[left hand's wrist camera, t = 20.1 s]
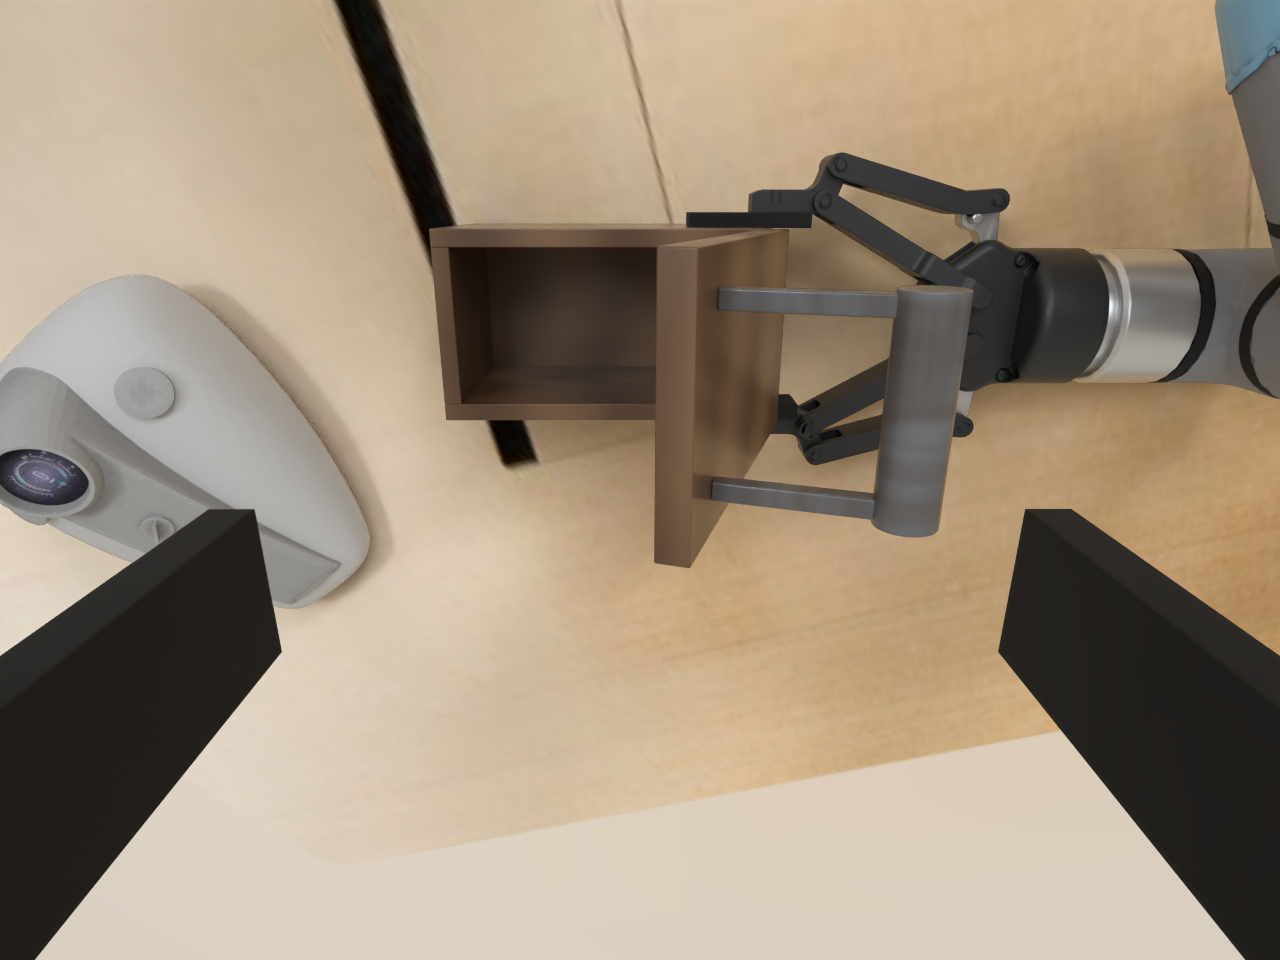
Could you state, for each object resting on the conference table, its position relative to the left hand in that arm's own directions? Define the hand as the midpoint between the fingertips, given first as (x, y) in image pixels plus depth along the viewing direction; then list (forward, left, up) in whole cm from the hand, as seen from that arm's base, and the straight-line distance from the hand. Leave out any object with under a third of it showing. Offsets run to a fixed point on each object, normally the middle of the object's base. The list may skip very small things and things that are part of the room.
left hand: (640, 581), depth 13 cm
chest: (-2, -1, -39) cm, 39 cm away
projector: (-23, -20, -39) cm, 49 cm away
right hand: (+2, +1, -32) cm, 32 cm away
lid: (+3, +1, -19) cm, 19 cm away
